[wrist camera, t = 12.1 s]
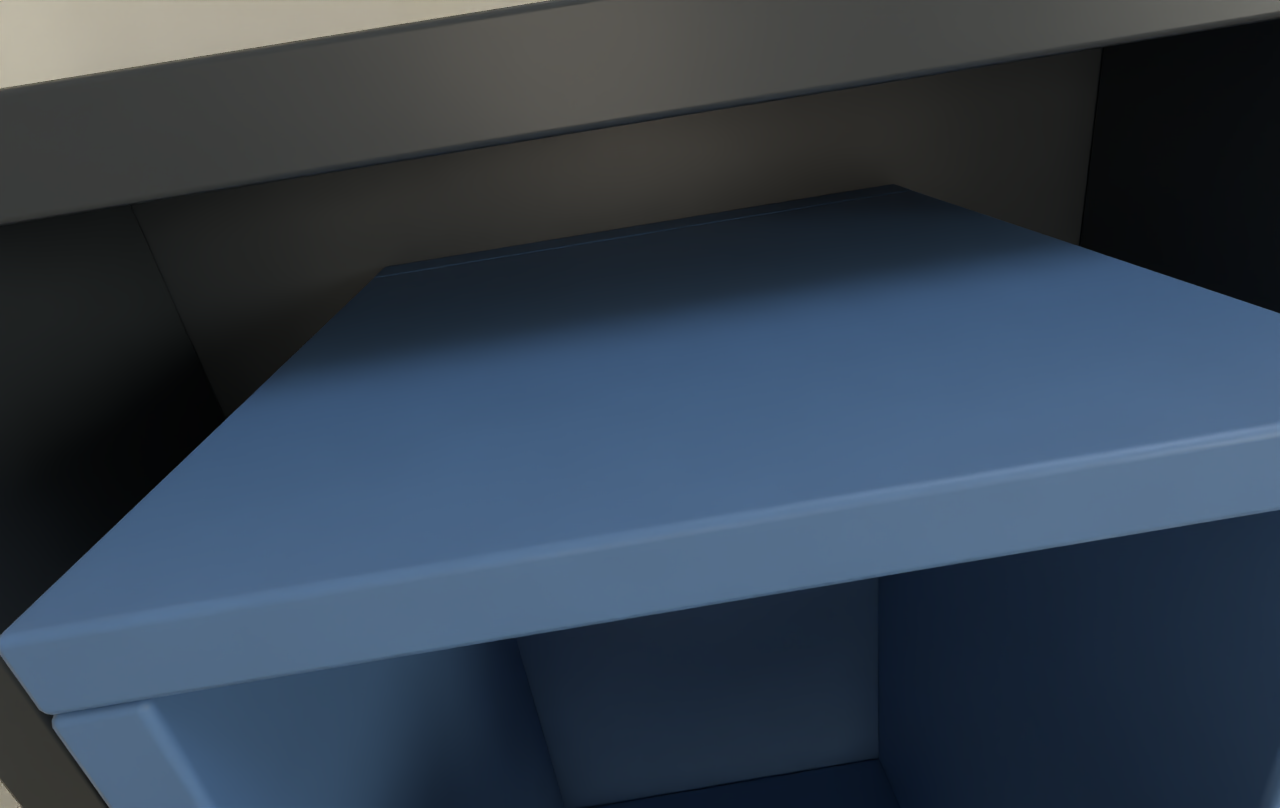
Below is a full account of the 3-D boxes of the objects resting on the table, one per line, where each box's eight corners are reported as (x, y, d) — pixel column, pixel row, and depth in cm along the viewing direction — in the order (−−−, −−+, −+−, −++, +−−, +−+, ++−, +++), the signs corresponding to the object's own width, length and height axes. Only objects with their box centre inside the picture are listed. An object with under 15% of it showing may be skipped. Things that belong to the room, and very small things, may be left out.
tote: (408, 862, 16) (332, 1204, 11) (69, 121, 9) (-490, 166, 4) (1027, 758, 16) (1220, 1051, 11) (1131, -50, 9) (1720, -189, 4)
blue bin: (547, 802, 14) (518, 1391, 8) (383, 266, 9) (-14, 643, 3) (890, 744, 14) (1139, 1280, 8) (895, 182, 10) (1519, 388, 3)
